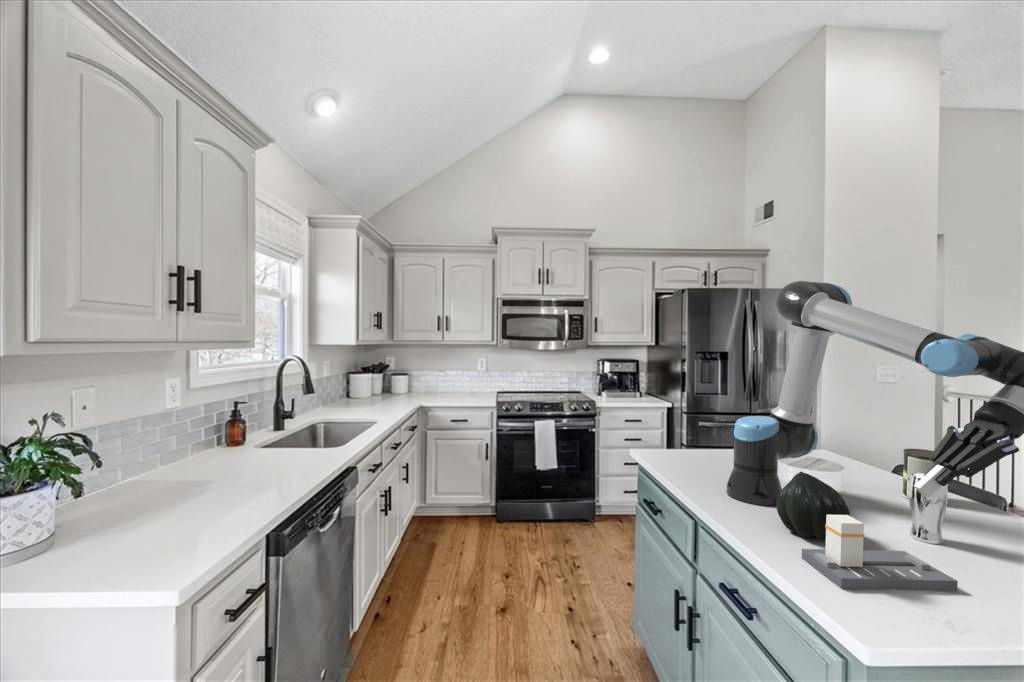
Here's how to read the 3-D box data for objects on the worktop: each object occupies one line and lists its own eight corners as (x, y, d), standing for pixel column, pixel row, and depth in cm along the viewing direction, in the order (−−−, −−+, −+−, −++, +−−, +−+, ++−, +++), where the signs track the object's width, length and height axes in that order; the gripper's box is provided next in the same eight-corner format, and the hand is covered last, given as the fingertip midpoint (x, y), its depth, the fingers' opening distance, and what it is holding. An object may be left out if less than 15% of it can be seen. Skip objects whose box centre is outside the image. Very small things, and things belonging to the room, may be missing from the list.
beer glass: (936, 535, 113) (938, 474, 113) (952, 547, 106) (955, 482, 106) (901, 530, 115) (903, 470, 115) (915, 542, 109) (917, 479, 108)
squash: (865, 531, 101) (845, 467, 111) (788, 525, 105) (775, 464, 115) (845, 552, 111) (828, 492, 121) (776, 546, 115) (765, 488, 125)
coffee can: (893, 492, 144) (895, 447, 144) (929, 494, 143) (930, 449, 143) (919, 504, 134) (920, 456, 134) (957, 506, 133) (959, 458, 133)
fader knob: (846, 555, 96) (847, 514, 96) (863, 567, 91) (864, 523, 91) (824, 555, 96) (825, 514, 96) (840, 566, 91) (841, 523, 91)
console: (903, 560, 100) (904, 546, 99) (957, 591, 88) (957, 575, 87) (801, 558, 100) (802, 544, 100) (841, 588, 88) (841, 572, 88)
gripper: (1059, 434, 87) (964, 518, 88) (989, 419, 100) (906, 493, 101) (1032, 405, 87) (937, 490, 87) (965, 394, 100) (883, 468, 100)
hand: (921, 491), depth 94 cm, fingers closed
